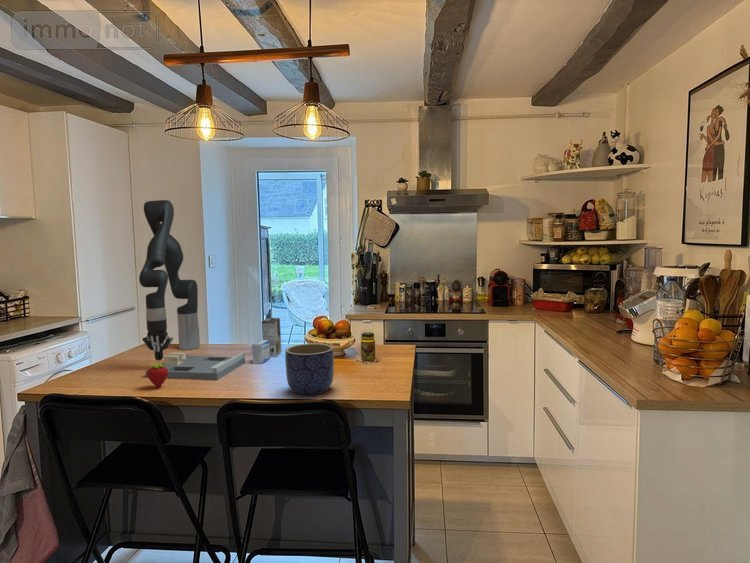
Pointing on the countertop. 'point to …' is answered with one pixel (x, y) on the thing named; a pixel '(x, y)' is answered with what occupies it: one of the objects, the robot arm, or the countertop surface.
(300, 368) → the planter
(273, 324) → the coffee box
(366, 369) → the countertop surface
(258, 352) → the medicine box
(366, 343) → the condiment
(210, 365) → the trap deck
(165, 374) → the strawberry
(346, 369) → the countertop surface
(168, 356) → the birch block
